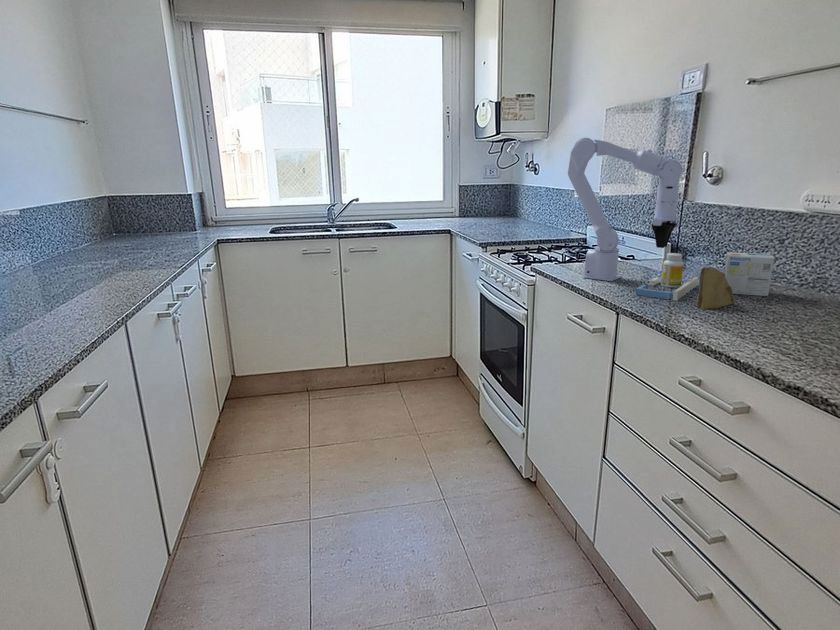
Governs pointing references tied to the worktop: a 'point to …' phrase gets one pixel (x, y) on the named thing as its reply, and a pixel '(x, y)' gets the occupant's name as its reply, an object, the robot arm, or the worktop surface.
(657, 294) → the channel
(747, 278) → the light bulb box
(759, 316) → the worktop surface
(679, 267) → the supplement bottle
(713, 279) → the rock
